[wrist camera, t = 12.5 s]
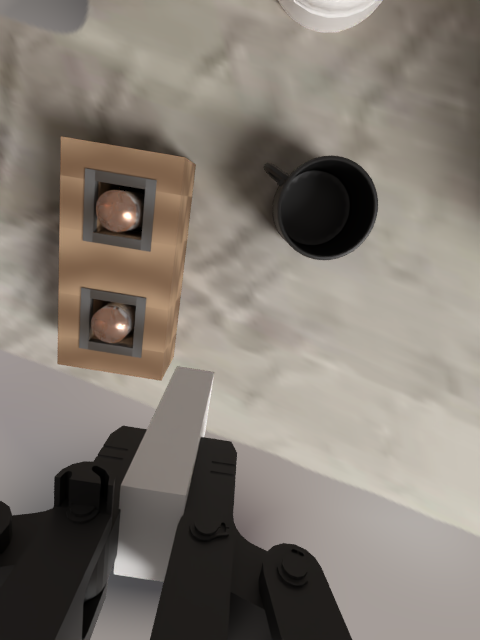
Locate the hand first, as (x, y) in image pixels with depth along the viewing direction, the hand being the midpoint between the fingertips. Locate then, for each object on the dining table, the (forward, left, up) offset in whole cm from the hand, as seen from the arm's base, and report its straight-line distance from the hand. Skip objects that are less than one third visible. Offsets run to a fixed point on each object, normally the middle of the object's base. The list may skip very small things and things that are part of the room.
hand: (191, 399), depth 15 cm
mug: (-9, +7, -33) cm, 35 cm away
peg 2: (+7, -12, -32) cm, 35 cm away
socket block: (+1, -12, -32) cm, 35 cm away
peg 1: (-5, -12, -32) cm, 34 cm away
